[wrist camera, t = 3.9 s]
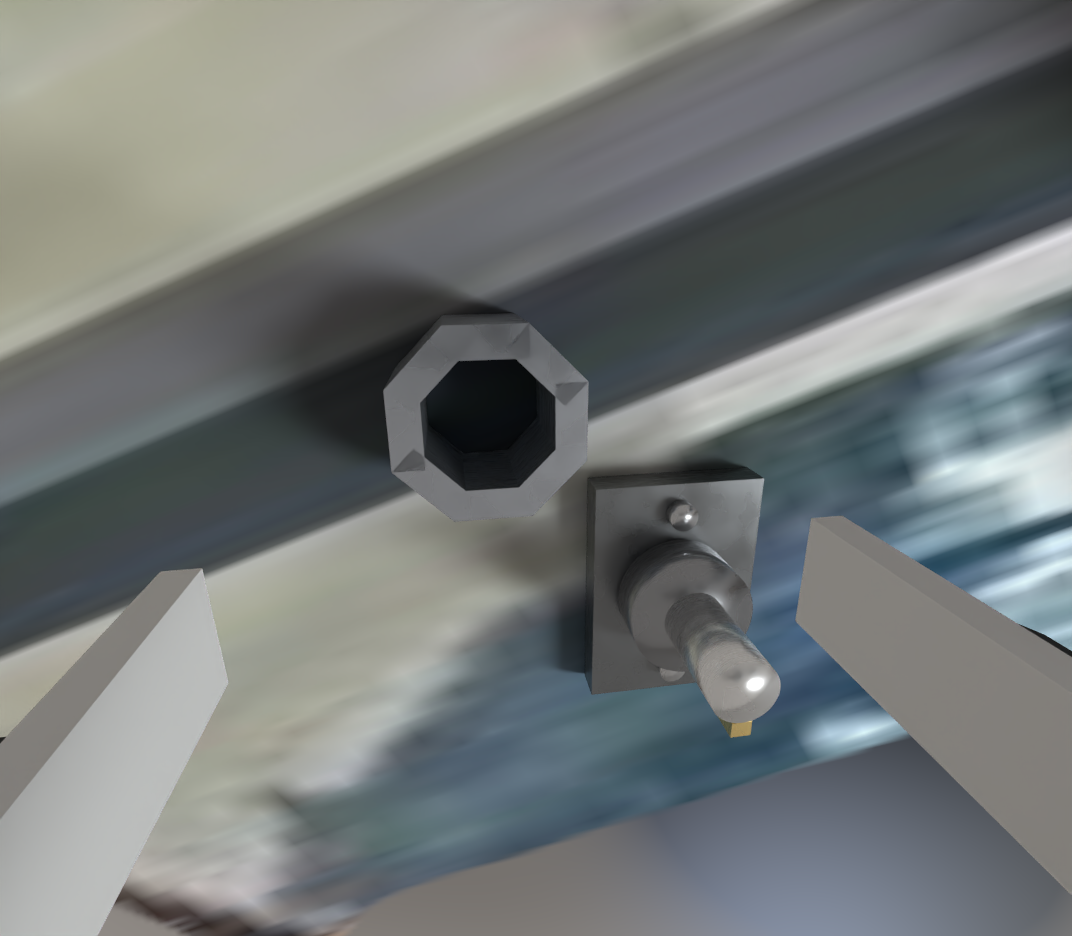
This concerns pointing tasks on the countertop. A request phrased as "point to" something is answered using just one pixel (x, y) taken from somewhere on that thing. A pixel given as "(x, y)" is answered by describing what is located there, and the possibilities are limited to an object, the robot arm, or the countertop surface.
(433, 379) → the hub
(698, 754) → the countertop surface
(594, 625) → the shaft stand
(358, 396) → the countertop surface
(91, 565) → the countertop surface
